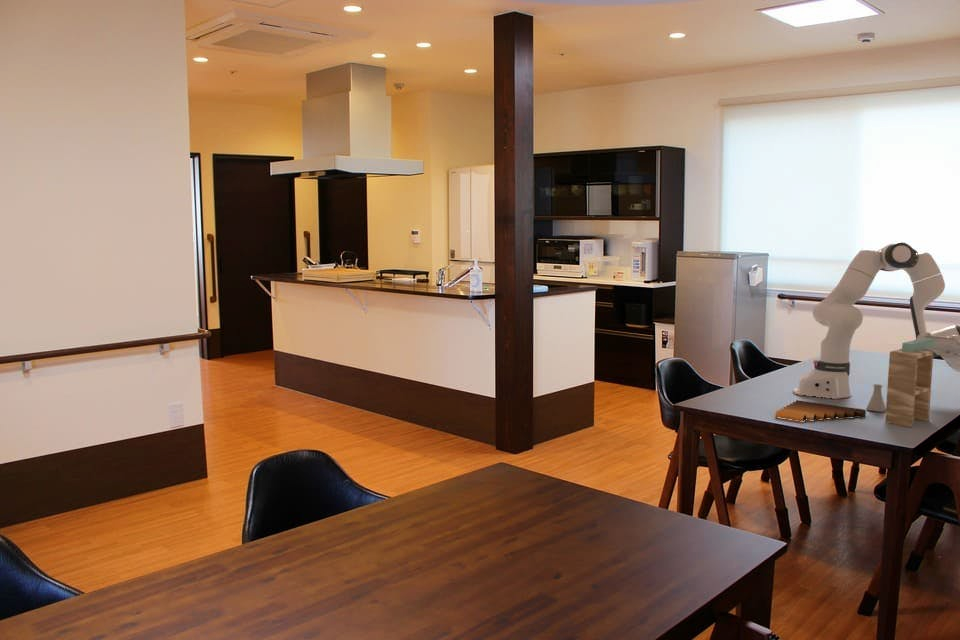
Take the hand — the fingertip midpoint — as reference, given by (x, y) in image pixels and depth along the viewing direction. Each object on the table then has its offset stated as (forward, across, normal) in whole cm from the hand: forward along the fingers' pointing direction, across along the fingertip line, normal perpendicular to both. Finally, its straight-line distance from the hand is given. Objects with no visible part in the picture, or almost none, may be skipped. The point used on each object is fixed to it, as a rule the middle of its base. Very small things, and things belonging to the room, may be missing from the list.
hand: (940, 335), depth 301 cm
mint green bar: (+15, 0, +12) cm, 19 cm away
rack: (+7, -1, +38) cm, 38 cm away
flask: (0, -15, +33) cm, 37 cm away
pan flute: (+23, -24, +47) cm, 57 cm away
